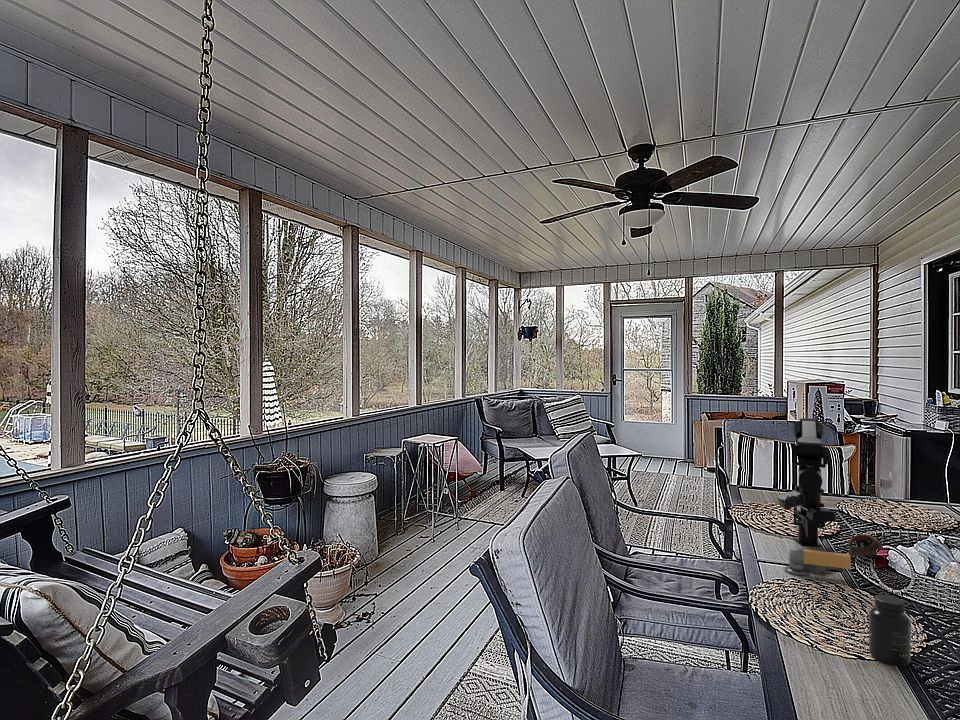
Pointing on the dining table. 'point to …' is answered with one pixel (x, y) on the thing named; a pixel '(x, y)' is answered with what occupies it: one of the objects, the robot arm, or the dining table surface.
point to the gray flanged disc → (796, 569)
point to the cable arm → (819, 558)
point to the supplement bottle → (890, 631)
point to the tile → (815, 568)
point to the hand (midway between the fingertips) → (809, 537)
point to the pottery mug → (864, 545)
